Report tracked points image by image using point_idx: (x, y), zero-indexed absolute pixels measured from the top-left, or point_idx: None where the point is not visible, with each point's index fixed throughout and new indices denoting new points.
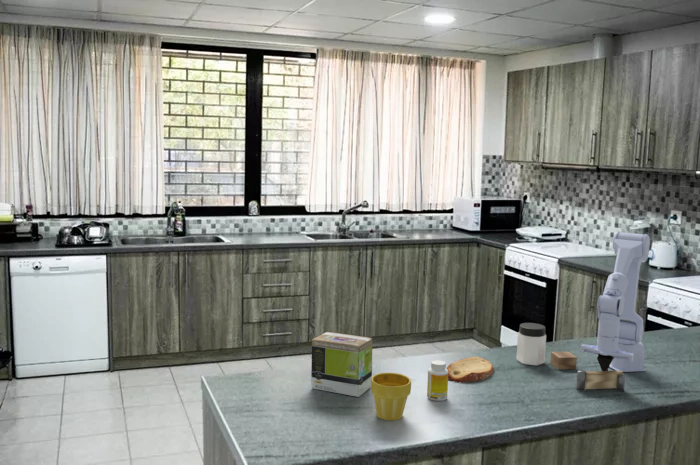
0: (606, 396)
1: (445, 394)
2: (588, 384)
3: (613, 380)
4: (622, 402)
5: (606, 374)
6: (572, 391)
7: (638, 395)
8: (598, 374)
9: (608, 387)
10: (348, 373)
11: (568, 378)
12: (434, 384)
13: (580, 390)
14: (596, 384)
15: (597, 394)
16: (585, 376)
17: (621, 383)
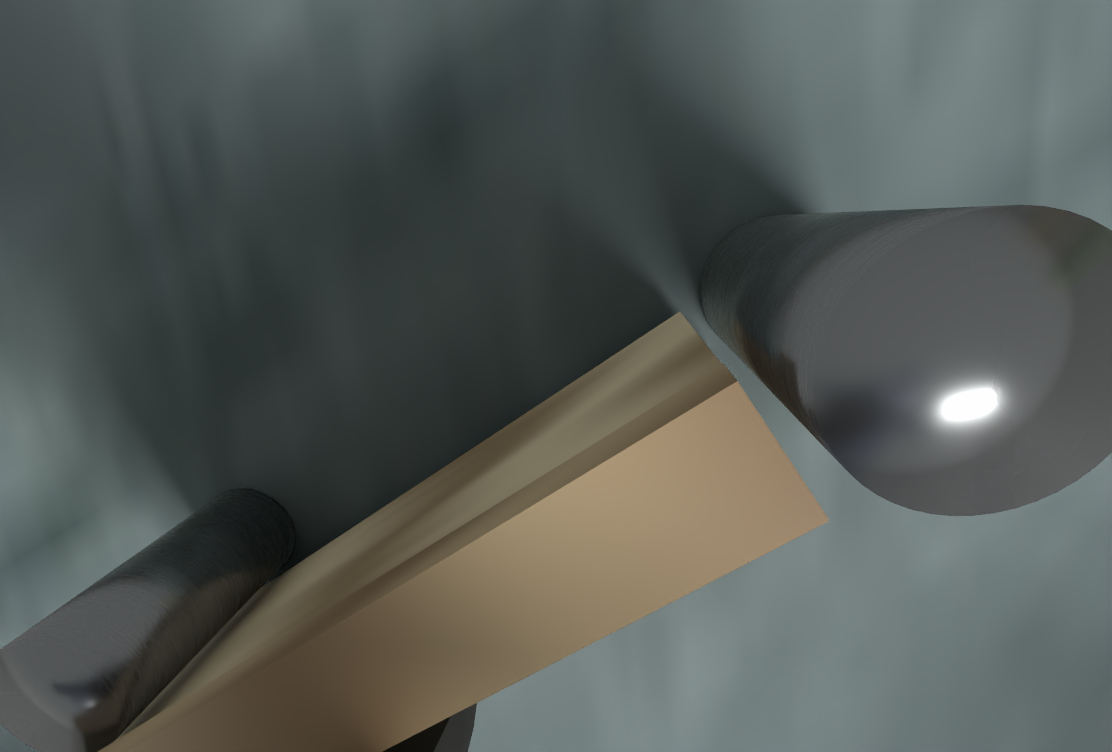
0: (354, 178)
1: None
2: (658, 349)
3: (266, 620)
4: (89, 22)
5: (294, 630)
6: (909, 112)
7: (26, 453)
8: (452, 535)
9: (378, 513)
10: None
11: (955, 686)
12: None
13: (771, 215)
14: (526, 433)
15: (491, 197)
16: (778, 303)
17: (138, 557)
